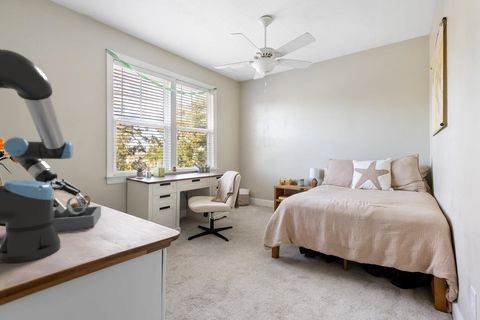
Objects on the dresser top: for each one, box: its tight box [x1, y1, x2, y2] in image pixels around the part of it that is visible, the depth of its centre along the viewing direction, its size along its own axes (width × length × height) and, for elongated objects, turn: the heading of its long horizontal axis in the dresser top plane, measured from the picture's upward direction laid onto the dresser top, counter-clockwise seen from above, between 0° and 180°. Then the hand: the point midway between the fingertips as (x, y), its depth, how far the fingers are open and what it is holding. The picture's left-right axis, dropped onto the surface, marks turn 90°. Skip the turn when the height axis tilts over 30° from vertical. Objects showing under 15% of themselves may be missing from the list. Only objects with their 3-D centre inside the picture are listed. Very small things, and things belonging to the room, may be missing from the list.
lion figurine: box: [70, 194, 91, 208], centre depth 124 cm, size 15×5×9 cm, turn 2°
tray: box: [53, 205, 102, 232], centre depth 108 cm, size 20×20×5 cm
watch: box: [65, 195, 87, 217], centre depth 110 cm, size 6×8×11 cm
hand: (75, 207), depth 108 cm, fingers open, 13 cm apart
